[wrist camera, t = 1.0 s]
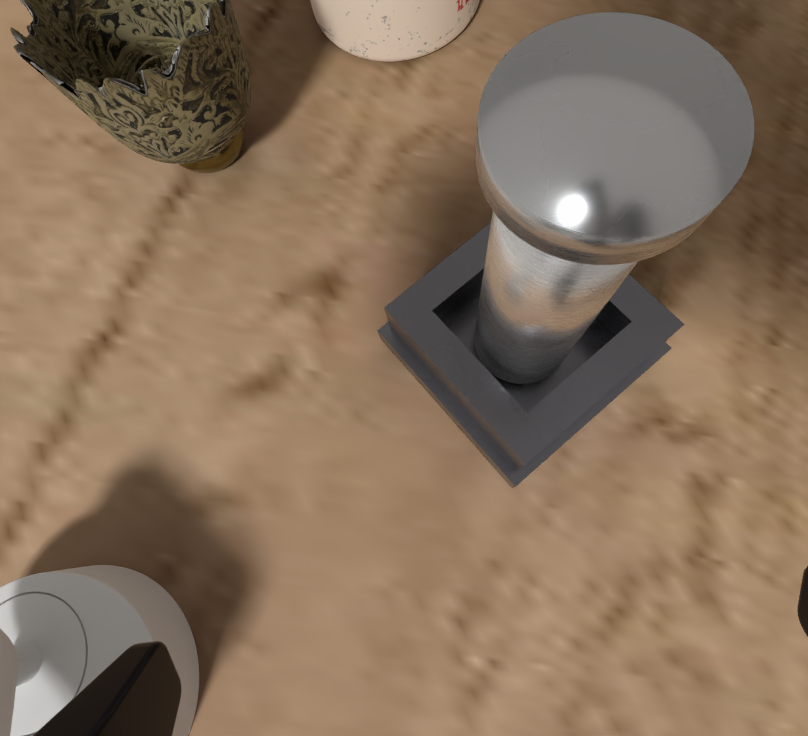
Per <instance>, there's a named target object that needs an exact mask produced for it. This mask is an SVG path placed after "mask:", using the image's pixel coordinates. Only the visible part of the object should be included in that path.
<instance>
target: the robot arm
mask: <svg viewBox="0 0 808 736" xmlns="http://www.w3.org/2000/svg"><path fill="white" fill-rule="evenodd" d="M798 617H799V621H800V623H801V626H802V628H803V630H804V631H805V633H806V635H807V636H808V567H807V568H806V569H805V570H804V573H803V578H802V584H801V590H800V596H799V602H798ZM181 692H182V688H181V680H180V677H179V675H178V672H177V670H176V668H175V665H174V663H173V661H172V658H171V656H170V653H169V651H168V649H167V647H166V645H165V644H164V643H163V642H161V641H154V642H145V643H137V644H134V645H132V646H130V647H129V648H128V649H127V650H125V651H124V652H123V653H122V654H121V655H120V656H119V657H118V658H117V659H116V660H115V661H114V662H112V663H111V664H110V665H109V666H108V667H107V668H106V669H105V670H104V671H103V672H102V673H100V674H99V675H98V676H97V677H96V678H95V679H94V680H93V681H92V682H91V683H90V684H88V685H87V686H86V687H85V688H84V689H83V690H82V691H81V692H80V693H79V694H78V695H77V696H75V697H74V698H73V699H72V700H71V701H70V702H69V703H68V704H67V705H66V706H65V707H63V708H62V709H61V710H60V711H59V712H58V713H57V714H56V715H55V716H54V717H53V718H51V719H50V720H49V721H48V722H47V723H46V724H45V725H44V726H43V727H42V728H41V729H40V730H38V731H37V732H36V733H35V734H34V735H33V736H172V734H173V730H174V726H175V721H176V717H177V713H178V708H179V704H180V699H181Z"/></svg>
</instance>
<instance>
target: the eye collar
mask: <svg viewBox="0 0 808 736" xmlns="http://www.w3.org/2000/svg"><path fill="white" fill-rule="evenodd" d="M490 226H491V222H490V223H489V224H488V225H487V226H485V227H484V228H483V229H482V230H480V231H479V232H478V233H477V234H475V235H474V236H473V237H472V238H470V239H469V240H468V241H467V242H465V243H464V244H463V245H462V246H460V247H459V248H458V249H457V250H456V251H454V252H453V253H452V254H451V255H449V256H448V257H447V258H446V259H444V260H443V261H442V262H441V263H439V264H438V265H437V266H436V267H434V268H433V269H432V270H431V271H429V272H428V273H427V274H426V275H424V276H423V277H422V278H421V279H420V280H418V281H417V282H416V283H415V284H413V285H412V286H411V287H410V288H408V289H407V290H406V291H405V292H403V293H402V294H401V295H400V296H398V297H397V298H396V299H395V300H393V301H392V302H391V303H390V304H388V305H387V306H386V307H385V308H384V309H385V312H386V315H387V318H388V323H386V324H385V325H384V326H383V327H381V328H380V329H379V330H378V333H379V336H380V338H381V340H382V341H383V342H384V343H385V344H386V345H387V346H388V348H389V349H390V350H391V351H392V352H393V353H394V354H395V355H396V357H397V358H398V359H399V360H400V361H401V362H402V363H403V365H404V366H405V367H406V368H407V369H408V370H409V371H410V373H411V374H412V375H413V376H414V377H415V378H416V379H417V380H418V382H419V383H420V384H421V385H422V386H423V387H424V388H425V390H426V391H427V392H428V393H429V394H430V395H431V396H432V398H433V399H434V400H435V401H436V402H437V403H438V404H439V405H440V407H441V408H442V409H443V410H444V411H445V412H446V413H447V415H448V416H449V417H450V418H451V419H452V420H453V421H454V423H455V424H456V425H457V426H458V427H459V428H460V429H461V430H462V432H463V433H464V434H465V435H466V436H467V437H468V438H469V440H470V441H471V442H472V443H473V444H474V445H475V446H476V448H477V449H478V450H479V451H480V452H481V453H482V454H483V455H484V457H485V458H486V459H487V460H488V461H489V462H490V463H491V465H492V466H493V467H494V468H495V469H496V470H497V471H498V473H499V474H500V475H501V476H502V477H503V478H504V479H505V480H506V482H507V483H508V484H509V485H510V486H511V487H512V488H513V487H516V486H517V485H518V484H519V483H520V482H521V481H522V480H523V479H525V478H526V477H527V476H528V475H529V474H530V473H531V472H532V471H534V470H535V469H536V468H537V467H538V466H539V465H540V464H541V463H543V462H544V461H545V460H546V459H547V458H548V457H549V456H550V455H552V454H553V453H554V452H555V451H556V450H557V449H558V448H560V447H561V446H562V445H563V444H564V443H565V442H566V441H567V440H569V439H570V438H571V437H572V436H573V435H574V434H575V433H576V432H578V431H579V430H580V429H581V428H582V427H583V426H584V425H585V424H587V423H588V422H589V421H590V420H591V419H592V418H593V417H594V416H596V415H597V414H598V413H599V412H600V411H601V410H602V409H603V408H605V407H606V406H607V405H608V404H609V403H610V402H611V401H613V400H614V399H615V398H616V397H617V396H618V395H619V394H620V393H622V392H623V391H624V390H625V389H626V388H627V387H628V386H629V385H631V384H632V383H633V382H634V381H635V380H636V379H637V378H638V377H640V376H641V375H642V374H643V373H644V372H645V371H646V370H647V369H649V368H650V367H651V366H652V365H653V364H654V363H655V362H656V361H658V360H659V359H660V358H661V357H662V356H663V355H664V354H665V353H667V352H668V351H669V350H670V349H671V347H670V346H669V345H668V344H667V343H666V342H665V341H666V340H667V339H668V338H669V337H671V336H672V335H673V334H674V333H675V332H676V331H677V330H678V329H680V328H681V327H682V326H683V325H684V324H683V323H682V322H681V321H680V320H679V319H678V318H677V317H676V316H675V315H673V314H672V313H671V312H670V311H669V310H668V309H667V308H666V307H665V306H664V305H662V304H661V303H660V302H659V301H658V300H657V299H656V298H655V297H654V296H653V295H651V294H650V293H649V292H648V291H647V290H646V289H645V288H644V287H643V286H642V285H641V284H639V283H638V282H637V281H636V280H635V279H634V278H633V277H632V276H631V275H630V274H628V276H627V277H626V278H625V280H624V281H623V282H622V284H621V285H620V286H619V287H618V289H617V290H616V291H615V293H614V294H613V295H612V297H611V298H610V299H609V301H608V302H607V303H606V305H605V306H604V307H603V309H602V310H601V311H600V313H599V314H598V315H597V317H596V318H595V319H594V321H593V322H592V323H591V325H590V326H589V327H588V329H587V330H586V331H585V333H584V334H583V335H582V337H581V338H580V339H579V341H578V342H577V343H576V345H575V346H574V347H573V348H572V350H571V351H570V352H569V354H568V355H567V356H566V358H565V359H564V360H563V362H562V363H561V364H560V366H559V367H558V368H557V369H556V370H555V371H554V372H553V373H552V374H551V375H549V376H548V377H546V378H544V379H542V380H540V381H537V382H533V383H527V384H517V383H511V382H507V381H505V380H502V379H500V378H498V377H496V376H495V375H493V374H492V373H491V372H489V371H488V370H487V369H486V368H485V366H484V365H483V364H482V362H481V361H480V359H479V357H478V355H477V352H476V349H475V344H474V334H475V327H476V320H477V313H478V306H479V300H480V293H481V286H482V279H483V273H484V266H485V259H486V252H487V246H488V239H489V232H490Z"/></svg>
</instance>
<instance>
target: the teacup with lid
mask: <svg viewBox="0 0 808 736" xmlns="http://www.w3.org/2000/svg"><path fill="white" fill-rule="evenodd" d="M310 2H311V6H312V9H313V13H314V16H315V19H316V21H317V23H318V25H319V27H320V28H321V30H322V31H323V33H324V34H325V35H326V36H327V37H328V38H329V39H330V40H331V41H332V42H333V43H334V44H335V45H337V46H338V47H339V48H341V49H343V50H344V51H346V52H348V53H350V54H352V55H355V56H358V57H361V58H364V59H368V60H373V61H382V62H395V61H404V60H410V59H415V58H418V57H422V56H425V55H427V54H430V53H432V52H434V51H436V50H438V49H440V48H442V47H443V46H445V45H446V44H448V43H449V42H451V41H452V40H453V39H454V38H455V37H457V36H458V35H459V34H460V33H461V32H462V31H463V30H464V29H465V27H466V26H467V25H468V23H469V22H470V20H471V19H472V17H473V15H474V13H475V11H476V9H477V7H478V4H479V0H310Z"/></svg>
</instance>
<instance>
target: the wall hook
mask: <svg viewBox="0 0 808 736" xmlns="http://www.w3.org/2000/svg"><path fill="white" fill-rule="evenodd" d="M154 641H161V642H163V643H164V644H165V645H166V647H167V649H168V651H169V653H170V656H171V658H172V661H173V663H174V665H175V668H176V670H177V672H178V675H179V677H180V680H181V688H182V692H181V699H180V704H179V708H178V713H177V717H176V721H175V726H174V730H173V734H172V736H188V735H189V732H190V730H191V726H192V723H193V720H194V716H195V712H196V707H197V701H198V692H199V663H198V655H197V649H196V645H195V641H194V637H193V634H192V631H191V629H190V626H189V624H188V621H187V619H186V618H185V616H184V614H183V612H182V610H181V609H180V607H179V606H178V604H177V603H176V602H175V600H174V599H173V598H172V597H171V595H170V594H169V593H168V592H167V591H166V590H165V589H164V588H163V587H162V586H160V585H159V584H158V583H156V582H155V581H154V580H152V579H151V578H149V577H147V576H145V575H144V574H142V573H139V572H137V571H134V570H132V569H128V568H125V567H120V566H113V565H92V566H85V567H78V568H71V569H64V570H57V571H50V572H43V573H37V574H33V575H29V576H26V577H23V578H20V579H17V580H15V581H12V582H10V583H8V584H6V585H4V586H2V587H0V736H33V735H34V734H35V733H36V732H37V731H38V730H40V729H41V728H42V727H43V726H44V725H45V724H46V723H47V722H48V721H49V720H50V719H51V718H53V717H54V716H55V715H56V714H57V713H58V712H59V711H60V710H61V709H62V708H63V707H65V706H66V705H67V704H68V703H69V702H70V701H71V700H72V699H73V698H74V697H75V696H77V695H78V694H79V693H80V692H81V691H82V690H83V689H84V688H85V687H86V686H87V685H88V684H90V683H91V682H92V681H93V680H94V679H95V678H96V677H97V676H98V675H99V674H100V673H102V672H103V671H104V670H105V669H106V668H107V667H108V666H109V665H110V664H111V663H112V662H114V661H115V660H116V659H117V658H118V657H119V656H120V655H121V654H122V653H123V652H124V651H125V650H127V649H128V648H129V647H130V646H132V645H134V644H137V643H145V642H154Z"/></svg>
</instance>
